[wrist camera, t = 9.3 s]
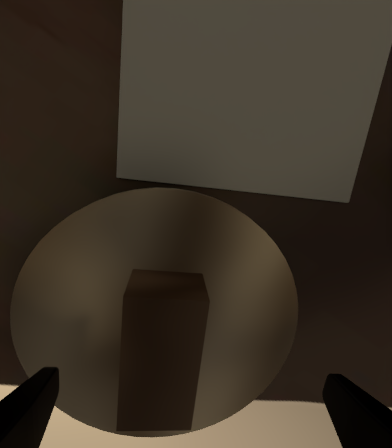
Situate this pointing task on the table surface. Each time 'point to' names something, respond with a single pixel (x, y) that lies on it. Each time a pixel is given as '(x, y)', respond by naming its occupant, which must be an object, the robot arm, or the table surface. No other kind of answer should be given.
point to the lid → (155, 311)
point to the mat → (250, 92)
